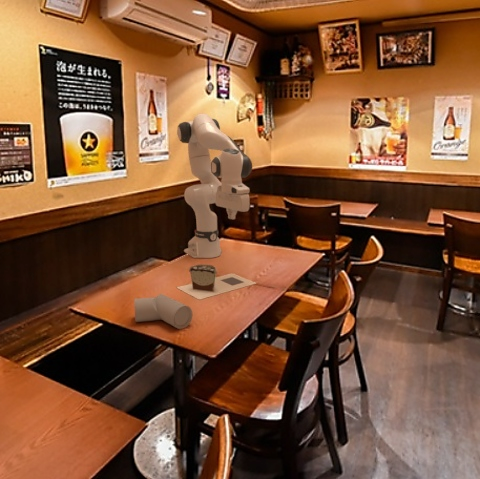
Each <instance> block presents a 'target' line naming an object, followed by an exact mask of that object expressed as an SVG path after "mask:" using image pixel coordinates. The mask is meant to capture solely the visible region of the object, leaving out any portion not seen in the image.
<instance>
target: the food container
mask: <svg viewBox="0 0 480 479" xmlns="http://www.w3.org/2000/svg"><path fill="white" fill-rule="evenodd" d="M188 272H190V277H191V284H192V287H193V290H202V291H210V292H213V291H214V282H215V278H216V275H217V273H218V272H217V268H216V266H214V265H211V264H194V265H192V266H190V267H189V270H188Z"/></svg>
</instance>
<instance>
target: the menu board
mask: <svg viewBox="0 0 480 479" xmlns="http://www.w3.org/2000/svg"><path fill="white" fill-rule="evenodd" d="M253 285H257V282H255V281H252V280H250V279H248V278H245V277H243V276H240V275H238V274H235V273H232V272H231V273H228V274H224V275H220V276H217V277H216V276H215V282H214V291H213V292H210V291H202V290H193V287H192V283H189V284H185V285H181V286H178V287H177V286H176V289H177V290H180V291H181V292H184V293H185V294H187V295H189V296H191V297H193V298H195V299H197V300H199V301H200V300H204V299H206V298H211V297H214V296H218V295H221V294H225V293H228V292H231V291H236V290H240V289H242V288H246V287H249V286H250V287H251V286H253Z"/></svg>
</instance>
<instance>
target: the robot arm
mask: <svg viewBox="0 0 480 479" xmlns="http://www.w3.org/2000/svg"><path fill="white" fill-rule="evenodd" d="M176 135H177V138H178V139H179V141H180V142H181V143H183V144H187V154H188V159H189V160H188V161H189V166H190V171H191V174H192V176H194V177H196V178H198V180H199V181H200V183H198V184H193V185H191V186H187V187H186V188H185V190H184V200H185V202H186V203H187V205H189V206H190V207H191V208H192V209H193V211H194V215H195V219H196V220H195V221H196V229H195V230H194V236H193V237H192V238H190V239H189V241H188V243H187V247H188V248H184V250H183V252H184V253H185V254H187V255H188V256H190V257H192V258H193V259H198V258H200V259H212V258H217V257H219V256H221V255H222V252H223V251H222V249H221V243H220V238H219V237H218V236H219V229H218V216H217V214H216V213H215V212H214V211H212V210H211V208H210V204H211V205H212V204H215V205H216V206H217V207H220V208H224V209H226V213H227V215H228V216H227V218H228V219H229V220H236V216H237V214H238V212H241V213H242V212H244V213H245V212H248V211H249V210H250V206H251V205H250V201H251V200H250V195H249V193H250V187H248V186H247V185H246V184H244V183H243V180H242V178H247V177H248V176H249V175H250V174H251V173H252V171H253V162H252V159H250V157H249V156H248V155H247V154H245V153H244V152H243V151H242V149H241V148H240V147H239V145H237V143H236V142H235V141H234V140H233V138H232V137H230V136H229V135H227V134H225V133H224V132H223V131H221V125H220V123H219V121H218V120H217V119H215V118H212V117H211V116H210V115H209V114H207V113H199V114H197V115H195V117H194V118H193V120H189V121H183V122H180V123H179V124H178V125H177V130H176ZM209 150H216V151H221V154H220V155H218V156H215V157H214V158H213V159H212V160H211V155H210V151H209ZM219 178H220V179H221V180H219Z"/></svg>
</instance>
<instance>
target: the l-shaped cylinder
mask: <svg viewBox="0 0 480 479" xmlns="http://www.w3.org/2000/svg"><path fill="white" fill-rule="evenodd" d="M133 304H134V319H135V323H140V322H141V323H142V322H151V321H161V320H162V321H164V322H165V323H166V324H168V325H171V326H173V327H174V328H177V329H178V330H181V329H184V328H187V327H188V326H189V325H191V322H192V320H193V316H194V315H193V314H194V312H193V309H192V308H191V307H190V306H189V305H186V304H184V303H182V302H180V301H177V300H176V299H173V298H172V297H169V296H167V295H165V294H163V293H159V294H158V295H157V296H153V297H152V296H151V297H140V298H134V301H133Z"/></svg>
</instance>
